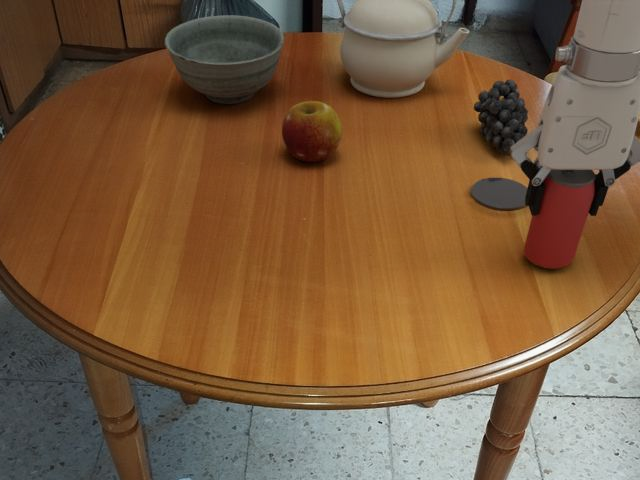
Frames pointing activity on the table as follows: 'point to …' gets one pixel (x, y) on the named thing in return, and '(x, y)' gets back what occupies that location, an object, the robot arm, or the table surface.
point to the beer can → (560, 218)
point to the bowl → (226, 55)
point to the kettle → (394, 45)
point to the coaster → (499, 193)
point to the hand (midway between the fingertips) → (561, 208)
